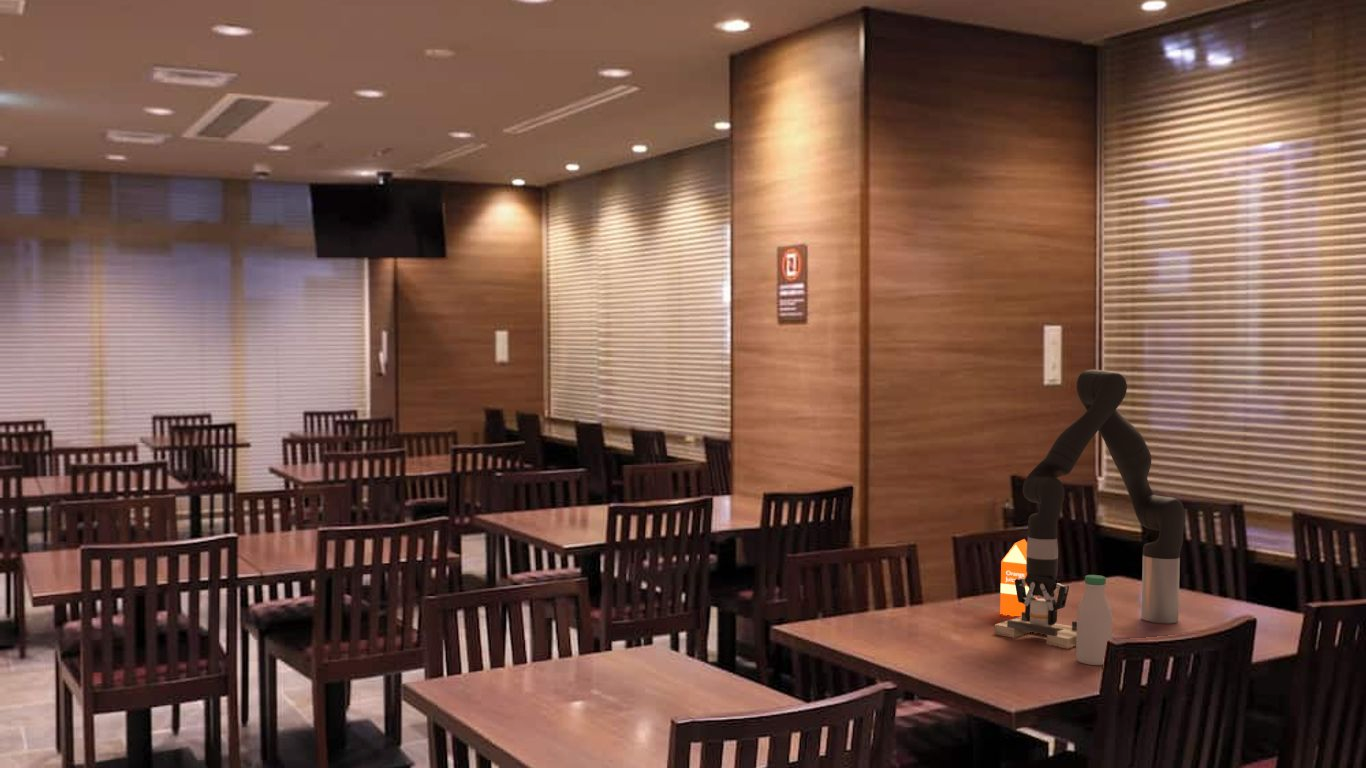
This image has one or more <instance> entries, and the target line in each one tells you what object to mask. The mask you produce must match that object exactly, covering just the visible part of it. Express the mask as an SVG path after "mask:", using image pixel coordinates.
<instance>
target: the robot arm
mask: <svg viewBox="0 0 1366 768" xmlns="http://www.w3.org/2000/svg"><path fill="white" fill-rule="evenodd" d="M1076 391H1077V395H1078V397H1079V400H1080V403H1082V406H1084V408H1085V410H1086V411H1085V412H1084V413H1083V415H1081V417H1079V418H1078V419H1077V420H1075V421H1074V422H1073V423H1072V424H1071V425H1069V426H1068V427H1066V428H1065V429H1064V430H1063V431H1062V432H1061V433H1060V434H1059V436H1058V437H1057V438H1056V439H1055V441H1054V442H1053V444H1052V446H1051V448H1050V449H1049V451H1048V452H1047V454H1046V456H1045V458H1044V459H1042V460H1041V461H1040V462H1039V463H1038V464H1037V466H1035V467H1034V468H1033V469H1032V470H1031V471H1030V472H1029V474H1028V475H1027V476H1026V478H1025V480H1024V482H1023V485H1022V494H1023V496H1024V498H1025V499H1026V500H1027V501H1029V502H1031V503H1035V504H1040V506H1039V509H1038V512H1035V513H1032V514H1030V515H1029V516H1028V521H1027V540H1026V542H1027V550H1026V553H1027V554H1026V572H1027V576H1026V578H1018V579H1015V586H1016V592H1017V598H1018V602H1019V603H1023V604H1024V605H1025V617H1026V618H1027V621H1030V600H1031V599H1035V598H1036V597H1037V598H1038V596H1040V597H1042V598H1043V599H1045V601H1046V602H1047V604H1048V607H1049V610H1048V625H1054V624H1055V623H1057V621H1058V610H1060V609H1063V608H1065V607H1066V604H1067V599H1068V593H1069V589H1070V586H1069V585H1068V584H1065V585H1064V584H1061V583H1059V581H1058V567H1059V564H1058V563H1059V561H1058V559H1059V547H1058V546H1059V545H1058V521H1059V518H1060V515H1061V512H1062V509H1063V504H1064V502H1065V501H1064V500H1065V488H1064V485H1063V482H1062V481H1061V480H1060V479H1058V478H1060V477H1064V476H1067V475H1070V473H1071V472H1072V471H1073V469H1074V467H1075V465H1076V464H1077V463H1078V460H1079V459H1080V457H1081V456H1082V454H1083V452H1084V450H1085V449H1086V447H1087V446H1088V444H1089V442H1090V441H1092V439H1093V437H1094V436H1095V435H1096V434H1097V432H1099V434H1100V436H1101V437H1102V439H1103V441H1104V443H1105V445H1106V448H1107V450H1108V452H1109V454H1110V457H1111V459H1112V461H1113V463H1114V466H1115V467H1116V469H1117V471H1118V472H1119V475H1120V477H1121V478H1122V481H1123V484H1124V485H1125V488H1126V490H1127V493H1128V496H1129V497H1130V498H1129V499H1130V501H1131V504H1132V508H1133V510H1134V513H1135V516H1136V518H1137V520H1138V522H1139V523H1140V525H1141V526H1142V527H1144V528H1146V529H1149V530H1153V531H1159V533H1158V538H1157V539H1156V540H1155V541H1152V542H1147V543H1145V544H1143V547H1142V568H1141V569H1142V572H1141V573H1142V575H1141V579H1142V580H1141V616H1140V617H1141V618H1140V619H1142V620H1144V621H1146V622H1150V623H1157V624H1175V623H1178V622H1179V607H1180V606H1179V603H1180V602H1179V601H1180V597H1179V596H1180V561H1181V558H1180V557H1181V556H1180V555H1181V550H1182V546H1183V543H1184V530H1185V528H1184V527H1185V516H1186V515H1185V508H1184V504H1183V503H1182V501H1181V500H1180V499H1178V498H1176V497H1171V496H1162V495H1157V494H1155V493H1154V491H1153V490H1152V487H1151V486H1150V484H1149V480H1148V476H1149V474H1150V473H1149V472H1150V470H1151V465H1152V455H1151V452H1150V450H1149V447H1148V445H1147V443H1146V441H1145V439H1144V437H1143V435H1142V434H1141V432H1140V431H1139V430H1138V429H1137V428H1136V427H1135V426H1134V425H1132V423H1131V422H1130V421H1128V420H1127V419H1126V418H1125V417H1124V416H1123V415H1122V414H1121V413H1120V412H1119V411H1118V410H1117V409H1118V408H1119V406H1120V405H1121V404H1122V402H1123V401H1124V398H1125V397H1126V396H1127V395H1126V394H1127V391H1128V384H1127V380H1126V377H1124V375H1123V374H1121V373H1120V372H1116V371H1111V370H1103V369H1087V370H1084V371H1082V372H1081V373H1080V374H1079V376H1078V377H1077V380H1076ZM1026 584H1027V586H1028V587H1029V590H1028V593H1027V595H1026V590H1025V586H1026ZM1056 589H1057V593H1058V594H1057V595H1056V592H1055V591H1056Z"/></svg>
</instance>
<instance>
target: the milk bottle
mask: <svg viewBox="0 0 1366 768" xmlns="http://www.w3.org/2000/svg"><path fill="white" fill-rule="evenodd" d="M1106 582H1107V578H1106V577H1105V576H1103V575H1100V574H1099V575H1097V574H1088V575H1087V574H1086V575H1085V577H1084V586H1085V591H1084V593H1083V596H1082V598H1081V600H1080V602H1079V605H1078V606H1077V614H1076V616H1077V618H1076V620H1077V638H1076V646H1075V647H1076V648H1075V651H1076V653H1075V655H1076V657H1075V658H1076V661H1077V662H1079V663H1080V664H1084V665H1090V666H1103V665H1102V663H1103V658H1104V653H1105V648H1106V643H1107V641H1108V640H1112V638H1113V636H1112V635H1113V631H1112V630H1113V622H1112V621H1113V617H1112V616H1113V615H1112V608H1111V605H1110V603H1109V600H1108V597H1107V594H1106V590H1105V587H1106Z"/></svg>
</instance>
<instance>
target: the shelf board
mask: <svg viewBox="0 0 1366 768" xmlns="http://www.w3.org/2000/svg"><path fill="white" fill-rule="evenodd" d="M1030 632H1031V633H1032V632H1034V633H1033V634H1037V633H1041V634H1040V635H1042V634H1046V635H1045V636H1046V645H1047V644H1049V645H1048V646H1052V645H1053V646H1052V647H1057V646H1058V648H1063V649H1067V648H1068V649H1070V648H1074V647H1076V638H1077V619H1076V620H1073V621H1072V622H1071V625H1068V624H1067V625H1066V624H1061V623H1057V622H1056V623H1055V624H1054V625H1052V628H1050V627H1045V626H1040V625H1034V624H1030V621H1027V618H1026V617H1025V611H1024V612H1022V617H1015V618H1013V619H1008V620H1005V621H1002V622H999V623H996V624H994V635H998V636H1003V637H1008V638H1014V639H1015V638H1018V637H1020V636H1024V634H1025V635H1027V633H1028V634H1031V633H1030ZM1073 646H1074V647H1073Z"/></svg>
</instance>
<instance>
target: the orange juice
mask: <svg viewBox="0 0 1366 768" xmlns="http://www.w3.org/2000/svg"><path fill="white" fill-rule="evenodd" d="M1026 550H1027V540H1026V539H1025V538H1024V539H1021V540H1019V541H1017V542H1014V544H1013V545H1012V547H1011V548H1010V549H1009V551H1008V552H1007V553H1006V555H1005V556H1004V557H1003V558H1002V560H1001V562H1000V565H1001V566H1000V568H1001V569H1000V608H999V609H1000V611H999V612H1000V613H999V614H1003V615H1002V616H1007V615H1010V616H1009V617H1014V616H1021V617H1022V612H1024V611H1025V605H1024V604H1023V603H1019V602H1018V598H1017V592H1016V586H1015V579H1018V578H1026V576H1027V572H1026V554H1027V553H1026ZM1025 590H1026V595H1027V593H1028V590H1029V587H1028V586H1027V584H1026V586H1025ZM1035 599H1038V596H1037V597H1036V598H1035Z"/></svg>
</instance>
